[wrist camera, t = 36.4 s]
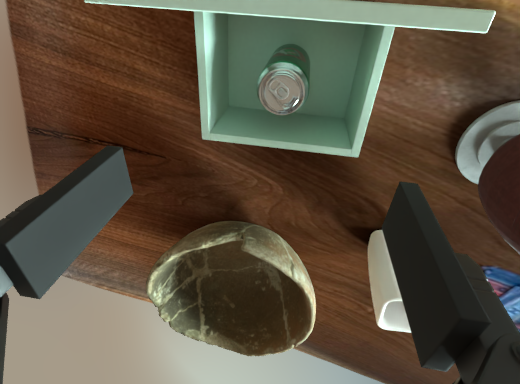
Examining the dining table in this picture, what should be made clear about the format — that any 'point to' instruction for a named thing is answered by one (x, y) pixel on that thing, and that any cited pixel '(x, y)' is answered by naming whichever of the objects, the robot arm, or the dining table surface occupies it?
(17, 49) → the dining table surface
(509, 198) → the mate gourd
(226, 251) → the bowl
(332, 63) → the chest
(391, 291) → the cup
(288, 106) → the soda can
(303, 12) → the chest lid
